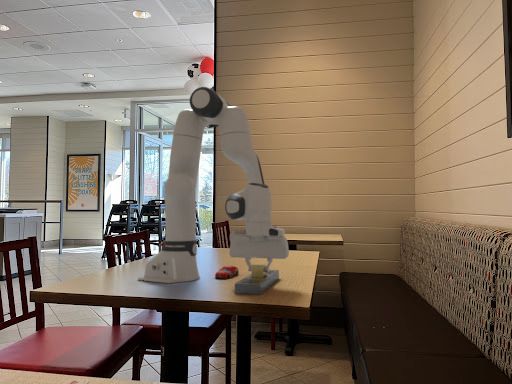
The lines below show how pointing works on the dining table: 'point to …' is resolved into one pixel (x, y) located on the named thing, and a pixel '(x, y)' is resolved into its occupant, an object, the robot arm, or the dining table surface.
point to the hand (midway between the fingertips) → (258, 271)
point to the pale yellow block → (258, 270)
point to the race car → (227, 272)
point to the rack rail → (256, 283)
